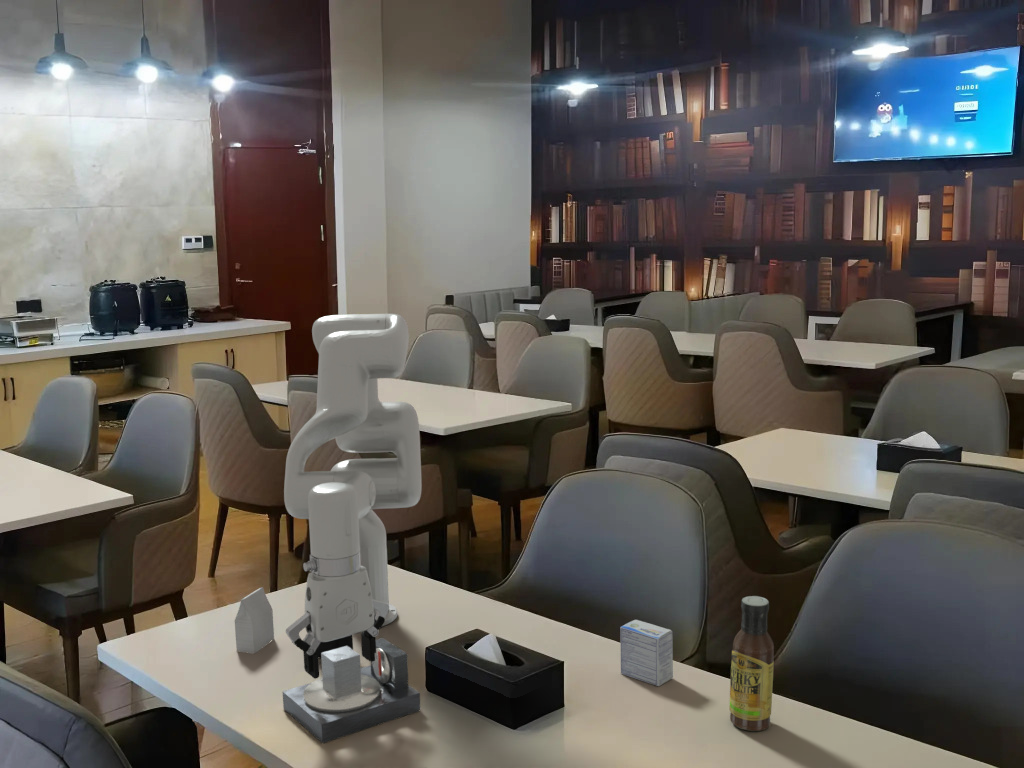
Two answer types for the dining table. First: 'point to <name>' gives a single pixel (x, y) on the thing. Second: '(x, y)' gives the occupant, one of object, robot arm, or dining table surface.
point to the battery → (334, 644)
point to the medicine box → (646, 652)
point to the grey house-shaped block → (254, 622)
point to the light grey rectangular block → (341, 672)
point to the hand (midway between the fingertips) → (341, 666)
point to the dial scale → (357, 698)
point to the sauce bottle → (752, 668)
